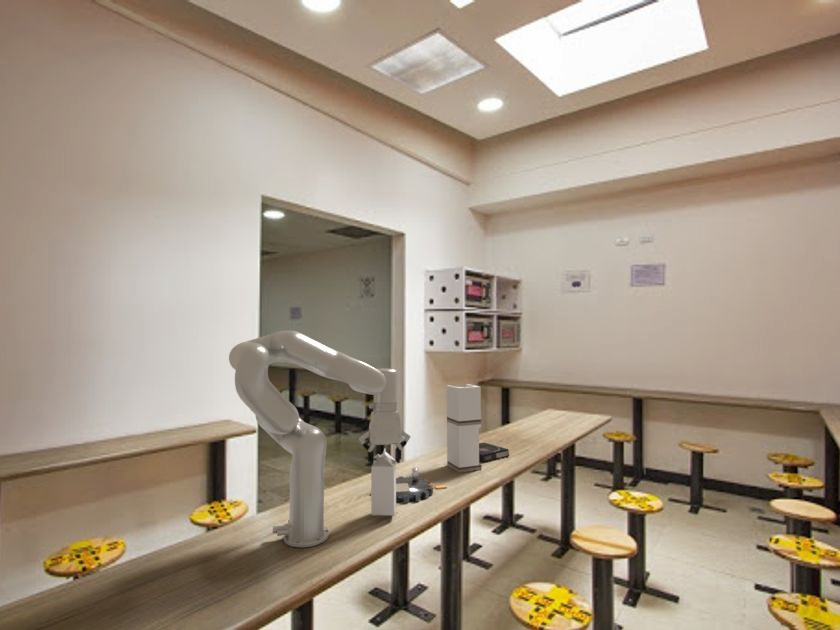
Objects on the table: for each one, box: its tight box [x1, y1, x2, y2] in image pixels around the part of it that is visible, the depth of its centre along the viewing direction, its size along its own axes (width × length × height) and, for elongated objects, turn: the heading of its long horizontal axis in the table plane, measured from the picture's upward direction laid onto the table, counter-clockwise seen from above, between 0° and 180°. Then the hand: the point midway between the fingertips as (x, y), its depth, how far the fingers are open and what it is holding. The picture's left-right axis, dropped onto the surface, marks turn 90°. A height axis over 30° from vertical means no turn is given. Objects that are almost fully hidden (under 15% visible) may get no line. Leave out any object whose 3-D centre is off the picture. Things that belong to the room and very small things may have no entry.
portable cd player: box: [479, 442, 510, 464], centre depth 214 cm, size 16×17×4 cm
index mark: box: [434, 484, 448, 490], centre depth 170 cm, size 4×2×1 cm, turn 108°
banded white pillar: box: [446, 383, 483, 473], centre depth 196 cm, size 11×11×35 cm
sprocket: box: [396, 467, 434, 503], centre depth 166 cm, size 22×22×6 cm
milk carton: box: [370, 448, 397, 516], centre depth 144 cm, size 7×7×19 cm
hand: (384, 462), depth 144 cm, fingers closed on milk carton, 8 cm apart
